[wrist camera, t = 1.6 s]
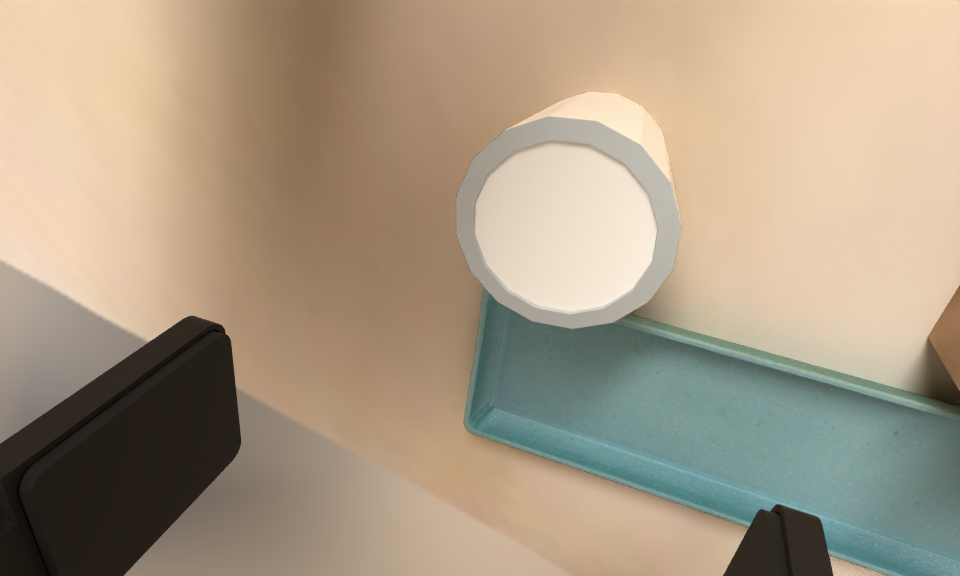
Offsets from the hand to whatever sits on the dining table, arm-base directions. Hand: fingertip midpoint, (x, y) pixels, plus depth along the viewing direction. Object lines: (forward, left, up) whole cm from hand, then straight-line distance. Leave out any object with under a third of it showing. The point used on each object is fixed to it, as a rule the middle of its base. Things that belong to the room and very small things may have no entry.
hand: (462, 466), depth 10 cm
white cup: (0, 0, -17) cm, 17 cm away
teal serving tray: (+10, +9, -17) cm, 22 cm away
